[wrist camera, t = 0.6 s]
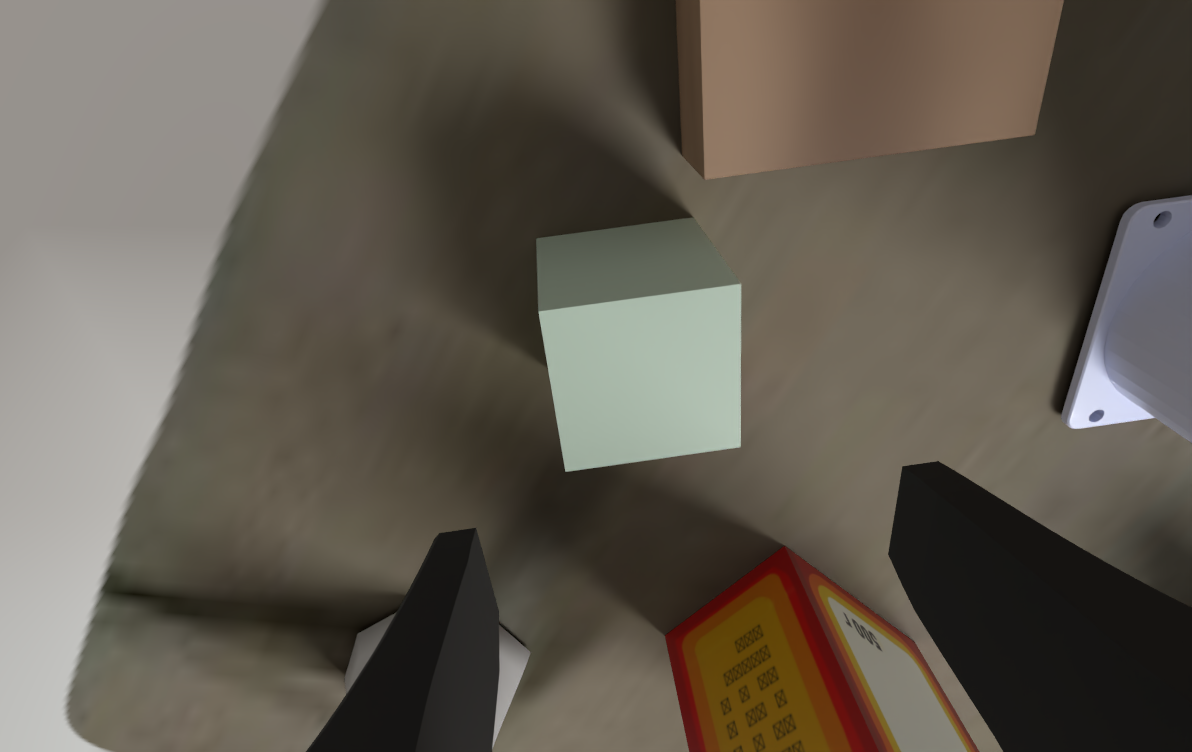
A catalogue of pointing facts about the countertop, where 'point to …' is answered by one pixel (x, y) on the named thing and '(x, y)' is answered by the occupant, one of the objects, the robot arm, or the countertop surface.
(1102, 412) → the robot arm
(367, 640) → the flask
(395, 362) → the countertop surface
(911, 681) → the baking soda box
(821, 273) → the countertop surface
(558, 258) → the sage block
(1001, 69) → the walnut block
